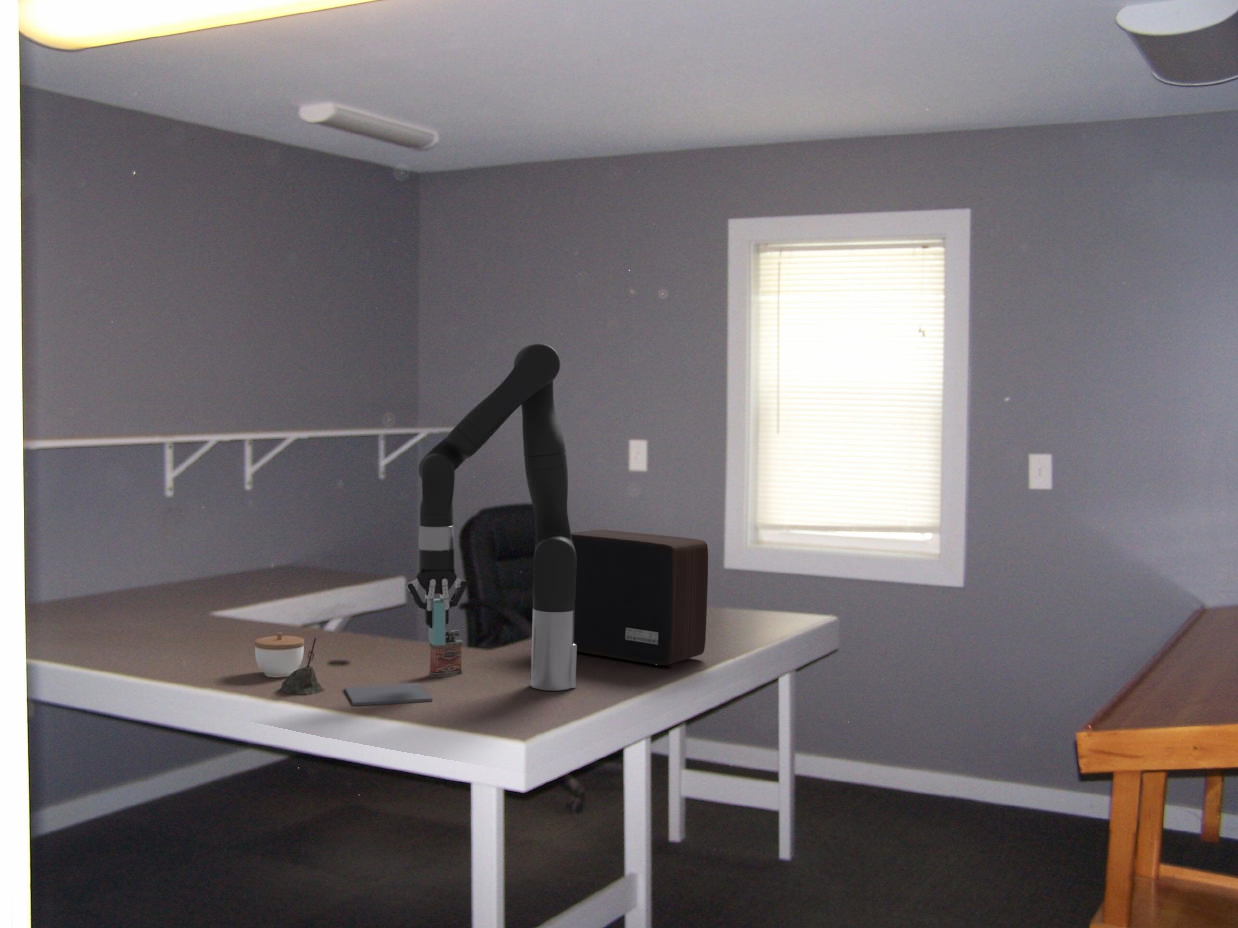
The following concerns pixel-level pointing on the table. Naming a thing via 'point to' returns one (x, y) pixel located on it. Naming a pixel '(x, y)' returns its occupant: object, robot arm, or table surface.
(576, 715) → the table surface
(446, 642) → the lighter
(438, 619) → the tile
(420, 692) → the mat
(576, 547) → the radio
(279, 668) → the lidded jar
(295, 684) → the sword in stone
